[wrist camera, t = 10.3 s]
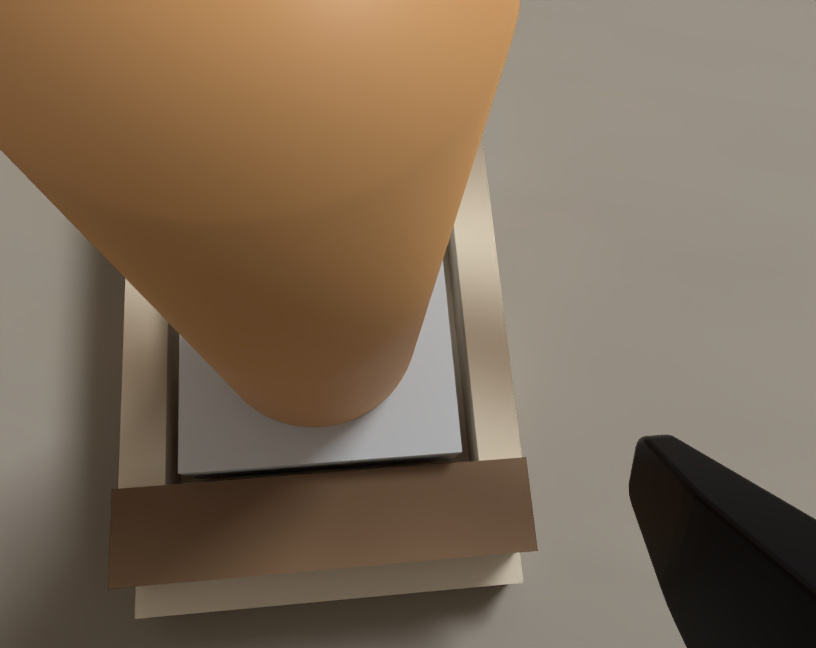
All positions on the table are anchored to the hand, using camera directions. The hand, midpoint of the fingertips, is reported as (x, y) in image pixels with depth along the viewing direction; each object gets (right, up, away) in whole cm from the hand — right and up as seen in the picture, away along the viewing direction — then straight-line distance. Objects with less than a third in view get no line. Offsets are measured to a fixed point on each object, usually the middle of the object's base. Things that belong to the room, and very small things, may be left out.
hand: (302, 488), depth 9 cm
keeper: (-1, +1, +8) cm, 9 cm away
